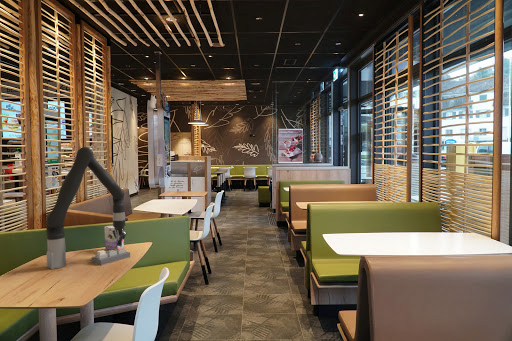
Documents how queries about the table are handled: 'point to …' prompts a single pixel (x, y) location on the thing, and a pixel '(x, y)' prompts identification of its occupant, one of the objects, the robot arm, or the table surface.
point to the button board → (110, 257)
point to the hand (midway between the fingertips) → (119, 245)
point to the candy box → (111, 239)
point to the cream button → (101, 252)
